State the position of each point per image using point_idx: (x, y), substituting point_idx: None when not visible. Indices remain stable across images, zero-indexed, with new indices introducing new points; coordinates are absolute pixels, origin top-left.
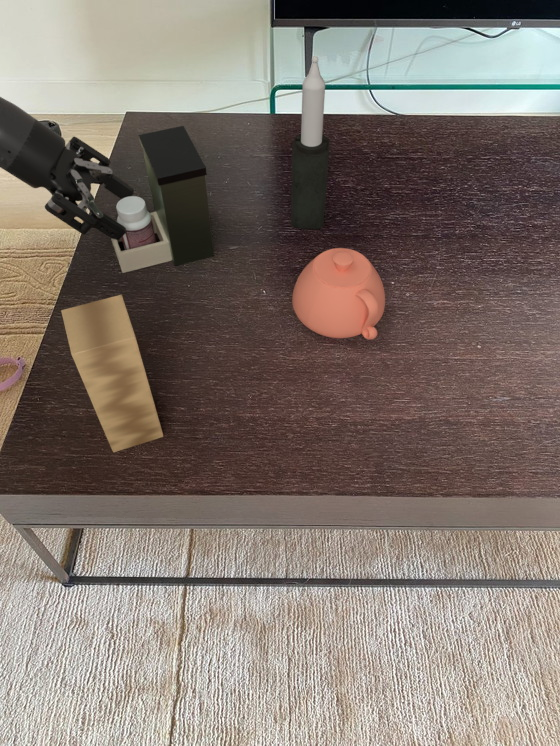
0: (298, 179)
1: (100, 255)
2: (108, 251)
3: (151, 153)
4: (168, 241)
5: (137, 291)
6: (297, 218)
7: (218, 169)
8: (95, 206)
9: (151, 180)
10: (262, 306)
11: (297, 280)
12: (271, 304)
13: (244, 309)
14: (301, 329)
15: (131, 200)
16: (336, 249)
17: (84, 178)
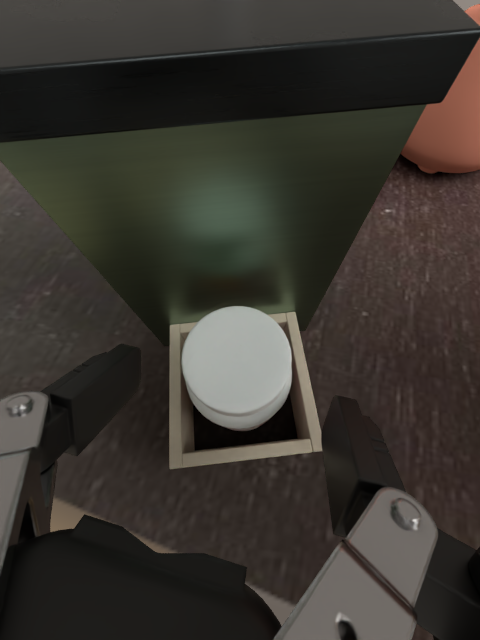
0: None
1: (229, 502)
2: (219, 477)
3: (187, 35)
4: (291, 312)
5: (374, 419)
6: None
7: (51, 219)
8: (368, 532)
9: (165, 249)
10: (421, 218)
11: (468, 119)
12: (416, 207)
13: (428, 241)
14: (469, 184)
15: (210, 349)
16: None
17: (113, 634)
